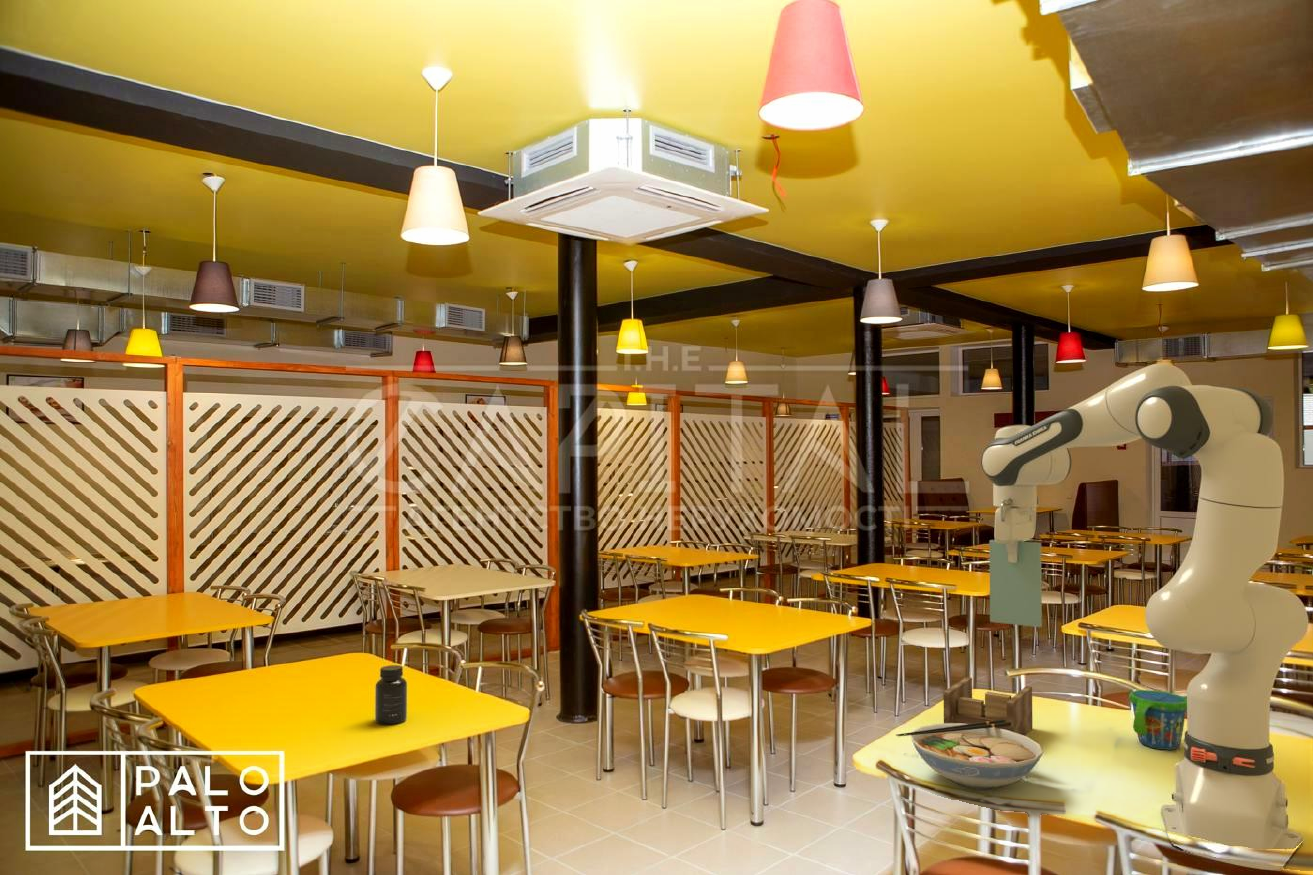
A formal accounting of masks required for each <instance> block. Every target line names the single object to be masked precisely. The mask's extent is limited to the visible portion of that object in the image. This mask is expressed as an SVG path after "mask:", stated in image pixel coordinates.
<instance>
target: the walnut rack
mask: <svg viewBox="0 0 1313 875" xmlns="http://www.w3.org/2000/svg"><path fill="white" fill-rule="evenodd" d="M960 697H966V698H972V699H973V677H968V676H966V677H964V678H962V679H961V680H960V681H958V682H956V683H955V684H953V685H952V686H951V687H949V688H947V689H946V690H944V691H943V724H945V723H963V724H973V723H980V722H987V721H993V720H994V719H989V718H985V703H984V718H983V717H977V716H972V715H966V714H960V713H958V698H960ZM1007 722H1011V726H1004V727H994V728H999V729H1004V730H1009V731H1012V732H1015V733H1018V734H1021V735H1024V736H1027V735H1028V734H1029V733H1030V732H1031V731H1032V730H1033V729H1034V728H1033V686H1029V685H1026V686H1025V687H1023V688H1022V689H1020V690H1019V691H1018V692H1017V693H1016V694H1015V695H1013V696H1011V699H1010V700H1009V701H1007Z"/></svg>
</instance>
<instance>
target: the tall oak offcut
mask: <svg viewBox="0 0 1313 875" xmlns="http://www.w3.org/2000/svg"><path fill="white" fill-rule="evenodd" d="M1011 698H1012V695H1011V694H1004V693H999V692H993V691H992V692H991V691H986V692H985V693H984V704H985V718H989V719H994V720H1000V719H1004V720H1005V722H1007V701H1009V700H1010V699H1011Z"/></svg>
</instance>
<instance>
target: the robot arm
mask: <svg viewBox="0 0 1313 875" xmlns="http://www.w3.org/2000/svg"><path fill="white" fill-rule="evenodd" d="M1273 423H1274V415H1273V411H1272V408H1271V406H1270V404H1269V402H1268V400H1266V399H1265V398H1264V397H1263V396H1261V395H1260V394H1258V393H1255V392H1253V391H1251V390H1248V389H1244V388H1240V387H1225V386H1224V387H1222V386H1212V385H1206V384H1197V385H1196V384H1195V385H1193V383H1191V380H1190V378H1189V377H1188V375H1187V374H1186V373H1185V372H1184V371H1183V370H1182V369H1180V368H1179V367H1177V366H1176V365H1172V364H1171V363H1164V362H1160V363H1154V364H1151V365H1148V366H1145V367H1142V368H1140V369H1137V370H1135V371H1133V372H1131V373H1129V374H1127V375H1125V376H1123V377H1122V378H1119V379H1118V380H1116V381H1115V382H1113V383H1111V384H1110V385H1109V386H1107V387H1105V388H1104V389H1102V390H1100V391H1099V392H1096V393H1095V394H1093V395H1092V396H1090V397H1087V398H1086V399H1085V400H1083V401H1080V402H1078V403H1076V404H1074V405H1072V406H1070V407H1068V408H1066V409H1064V410H1062V411H1059V412H1058V413H1056V414H1053V415H1051V416H1049V417H1046V418H1045V419H1043V420H1041V421H1038V422H1037V423H1035V424H1033V425H1028V424H1013V425H1006V426H1002V427H1001V428H999V429H998V430H996V432H995V436H994V438H993V439H992V440H991V441H990V442H989V443H988V445H986V447H985V449H984V450H983V453H982V455H981V457H980V458H981V459H980V460H981V461H980V463H981V464H980V465H981V468H982V471H983V473H984V475H985V476H986V477H987V479H989V481H991V483H993V484H992V485H993V486H992V492H993V493H992V494H993V495H992V500H993V502H992V503H993V504H992V505H993V507H996V510H995V513H994V514H995V515H994V532H993V533H994V535H993V536H994V540H995V541H996V543H1004V544H1006V548H1007V552H1008V561H1009V562H1012V563H1016V562H1018V560H1019V559H1018V552H1017V547H1018V542H1025V541H1027V540H1031V539H1033V538H1034V537H1035V532H1036V526H1037V524H1036V523H1037V507H1038V506H1039V505H1040V497H1039V496H1038V494H1037V493H1038V492H1037V486H1038V485H1039V486H1040V485H1041V486H1042V485H1045V486H1046V485H1048V486H1049V485H1056V484H1059V483H1062V482H1064V481H1065V480H1066V479H1067V478H1068V476H1069V475H1070V473H1071V469H1072V464H1073V463H1072V461H1073V460H1072V456H1071V452H1070V450H1069V449H1071V448H1081V447H1082V448H1083V447H1085V448H1087V447H1116V446H1121V445H1125V444H1128V443H1131V442H1135V441H1138V440H1140V439H1142V440H1144V441H1145V442H1147V444H1149V445H1150V446H1153V447H1155V448H1158V449H1161V450H1163V451H1166V452H1169V453H1170V454H1172V455H1173V456H1175V457H1177V458H1179V459H1182V460H1185V459H1188V458H1190V457H1194V458H1195V459H1196V460H1197V461H1198V464H1199V466H1200V468H1201V469H1200V470H1201V478H1200V486H1199V491H1198V492H1199V494H1198V499H1197V500H1198V502H1197V510H1196V516H1195V524H1194V528H1193V529H1194V530H1193V535H1192V540H1191V543H1190V546H1189V548H1188V551H1187V553H1186V555H1185V558H1184V560H1183V561H1182V563H1181V564H1180V566H1179V568H1178V570H1177V571H1176V572H1175V574H1174V575H1173V576H1172V578H1171V579H1170V580H1169V581H1168V582H1167V583H1166V584H1165V585H1164V586H1163V587H1161V588H1160V589H1159V590H1157V591H1155V592H1154V593H1153V594H1152V595H1151V596H1150V598H1149V599H1148V601H1147V604H1146V607H1145V613H1144V615H1145V624H1146V627H1147V630H1148V631H1149V633H1150V635H1151V636H1152V638H1153V639H1154V640H1155V642H1156V643H1158V644H1159V645H1160V646H1162V647H1163V648H1166V649H1168V650H1173V651H1177V652H1181V653H1182V652H1183V653H1188V654H1194V655H1195V654H1196V655H1201V654H1202V655H1203V654H1204V655H1205V654H1211V655H1210V657H1209V659H1208V662H1207V663H1206V665H1205V666H1204V668H1203V669H1202V670H1201V671H1200V672H1199V673H1198V674H1197V675H1195V676H1194V677H1193V678H1191V680H1190V681H1189V683H1188V685H1187V687H1186V699H1187V710H1186V721H1187V722H1186V726H1187V727H1186V731H1184V738H1183V748H1184V750H1183V754H1184V755H1183V756H1184V758H1183V759H1181V760H1180V761H1178V762H1176V763H1175V766H1174V767H1175V770H1174V771H1175V777H1174V778H1175V783H1174V784H1175V791H1173V792H1172V793H1171V800H1172V802H1175V804H1162V806H1161V809H1160V815H1161V817H1162V821H1163V825H1164V828H1165V831H1170V832H1175V833H1179V834H1183V835H1186V836H1191V837H1196V838H1201V839H1205V840H1208V841H1212V842H1216V843H1221V844H1224V845H1228V846H1243V847H1248V848H1253V849H1262V850H1266V849H1285V850H1286V849H1294V848H1296V846H1298V845H1299V844H1300V843H1301V842H1302V841H1303V842H1304V840H1303V839H1304V838H1303V834H1301V833H1299V832H1298V831H1296V830H1292V829H1290V828H1289V827H1288V826H1289V815H1288V813H1287V812H1288V811H1287V808H1288V804H1289V802H1288V798H1287V794H1286V792H1287V791H1286V790H1287V789H1286V784H1285V783H1284V782H1283V781H1282V780H1281V779H1280V778H1279V777H1278V776H1277V775H1276V774H1275V773H1274V771H1273V770H1274V769H1275V767H1274V766H1275V765H1274V761H1275V752H1274V747H1273V744H1272V743H1271V742H1270V716H1271V715H1270V714H1271V713H1270V712H1271V708H1270V707H1271V698H1272V697H1271V696H1272V690H1273V687H1274V684H1275V680H1276V678H1277V675H1278V673H1279V670H1280V668H1281V665H1282V663H1283V661H1285V658H1286V657H1287V655H1288V654H1289V653H1290V651H1291V650H1292V649H1293V648H1294V647H1295V646H1296V645H1297V644H1299V643H1300V642H1301V641H1302V640H1303V639H1304V637H1305V636H1306V634H1307V632H1308V629H1309V616H1308V611H1307V609H1306V607H1305V605H1304V603H1303V602H1302V600H1301V599H1300V597H1298V596H1297V595H1296V594H1295V593H1293V591H1290V590H1288V589H1286V588H1284V587H1283V588H1282V587H1279V586H1274V585H1269V584H1265V583H1259V582H1250V580H1251V578H1252V577H1253V576H1254V574H1255V573H1256V572H1257V571H1258V570H1259V569H1260V568H1261V567H1263V566H1264V565H1265V564H1266V563H1269V561H1270V560H1272V558H1274V556H1275V554H1276V552H1277V549H1278V544H1279V534H1280V526H1281V521H1282V520H1281V518H1282V510H1283V505H1284V504H1283V503H1284V492H1285V491H1284V490H1285V489H1284V488H1285V487H1284V486H1285V482H1284V481H1285V475H1284V474H1285V473H1284V472H1285V471H1284V462H1283V461H1284V460H1283V455H1282V449H1281V446H1280V445H1279V444H1278V443H1277V442H1276V441H1275V440H1274V439H1273V438H1271V437H1268V436H1269V435H1270V432H1271V431H1272V428H1273ZM1183 851H1184V852H1187V853H1191V854H1193V855H1197V856H1200V857H1203V858H1207V859H1211V860H1214V861H1218V862H1223V863H1227V864H1231V865H1235V866H1239V867H1245V868H1250V869H1251V868H1252V869H1258V870H1266V871H1268V870H1269V871H1282V870H1283V869H1284V867H1282V866H1274V865H1269V864H1265V863H1260V862H1254V861H1238V860H1226V859H1222V858H1216V857H1212V856H1209V855H1206V854H1200V853H1193V852H1189V851H1186V850H1183Z"/></svg>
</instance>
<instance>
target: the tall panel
mask: <svg viewBox="0 0 1313 875" xmlns="http://www.w3.org/2000/svg"><path fill="white" fill-rule="evenodd" d="M988 542H989V622H990V623H997V624H998V623H999V624H1008V625H1015V626H1016V625H1017V626H1025V627H1035V628H1041V627H1043V613H1042V612H1043V611H1042V609H1043V608H1042V606H1043V605H1042V604H1043V603H1042V602H1043V601H1042V599H1043V598H1042V592H1043V591H1042V590H1043V589H1042V542H1033V541H1032V542H1031V541H1030V542H1029V541H1024V542H1018V547H1017V552H1018V559H1019V560H1018V562H1016V563H1012V562H1009V561H1008V552H1007V548H1006V544H1004V543H996V541H995V539H990V540H989V541H988Z"/></svg>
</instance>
